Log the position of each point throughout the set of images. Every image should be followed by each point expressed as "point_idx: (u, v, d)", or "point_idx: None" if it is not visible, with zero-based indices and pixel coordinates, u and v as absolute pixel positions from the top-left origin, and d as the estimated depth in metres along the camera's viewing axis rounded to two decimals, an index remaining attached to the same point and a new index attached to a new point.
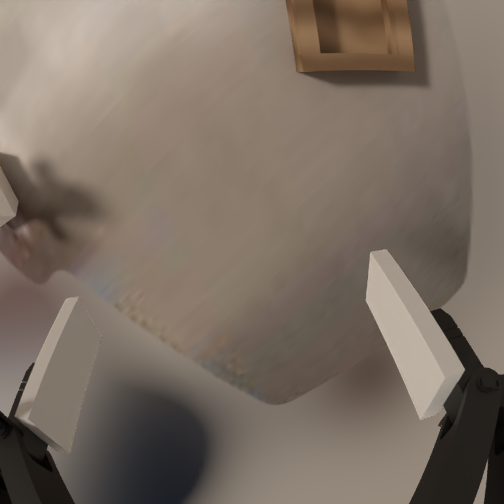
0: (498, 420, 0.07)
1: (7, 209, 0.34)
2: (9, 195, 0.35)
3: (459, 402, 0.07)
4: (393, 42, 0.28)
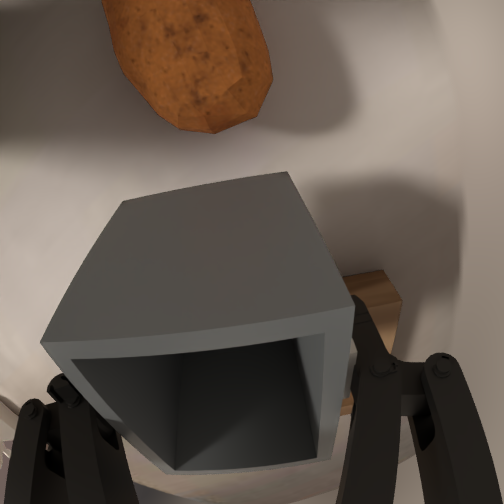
0: (407, 410, 0.08)
1: None
2: (13, 421, 0.36)
3: (358, 391, 0.08)
4: None
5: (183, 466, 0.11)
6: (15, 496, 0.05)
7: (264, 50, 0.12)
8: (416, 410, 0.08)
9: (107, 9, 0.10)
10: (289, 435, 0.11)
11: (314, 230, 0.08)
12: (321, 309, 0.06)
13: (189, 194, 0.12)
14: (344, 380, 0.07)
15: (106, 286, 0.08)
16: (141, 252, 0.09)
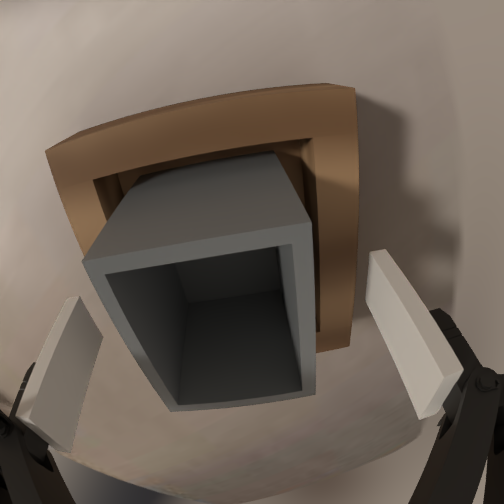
0: (497, 420, 0.07)
1: None
2: None
3: (458, 402, 0.07)
4: (315, 299, 0.19)
5: (185, 401, 0.14)
6: None
7: None
8: None
9: None
10: (278, 372, 0.14)
11: (288, 184, 0.11)
12: (288, 225, 0.09)
13: (194, 167, 0.15)
14: (314, 293, 0.10)
15: (134, 224, 0.10)
16: (160, 203, 0.12)
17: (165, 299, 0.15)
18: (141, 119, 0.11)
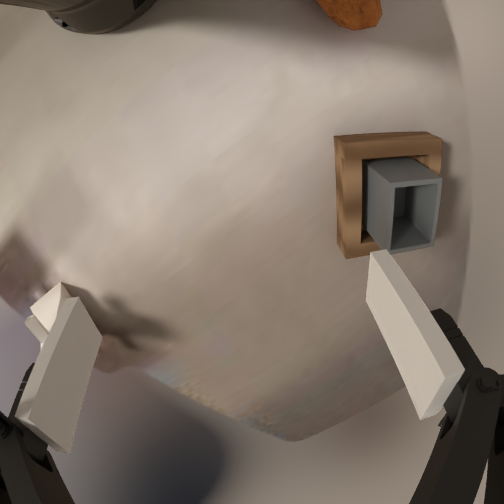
0: (498, 420, 0.07)
1: None
2: None
3: (459, 402, 0.07)
4: None
5: (392, 248, 0.35)
6: None
7: (379, 0, 0.23)
8: None
9: None
10: (419, 238, 0.35)
11: (428, 169, 0.32)
12: (437, 178, 0.30)
13: (386, 160, 0.36)
14: None
15: (393, 175, 0.31)
16: (393, 170, 0.33)
17: None
18: (383, 141, 0.32)
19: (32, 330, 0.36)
